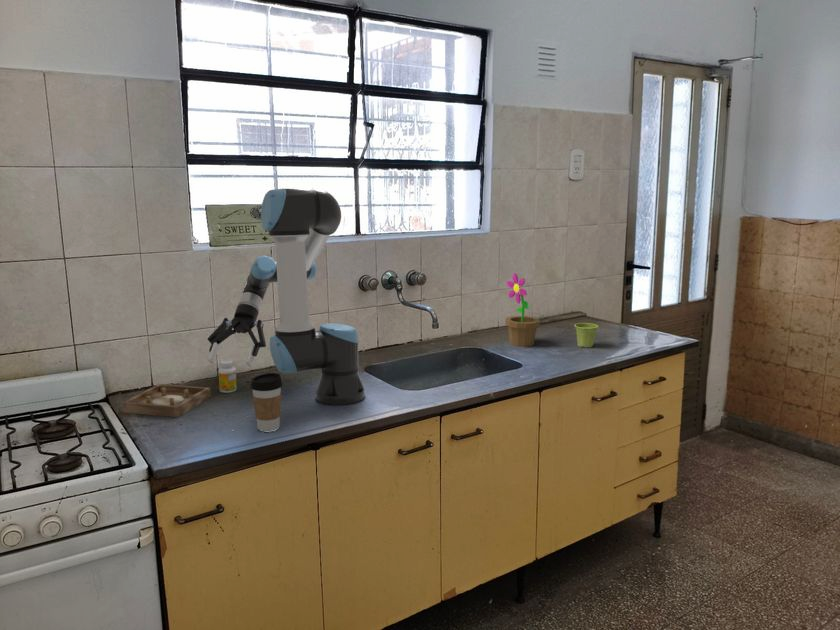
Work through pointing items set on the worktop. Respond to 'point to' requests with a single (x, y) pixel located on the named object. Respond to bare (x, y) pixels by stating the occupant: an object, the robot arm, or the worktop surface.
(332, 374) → the robot arm
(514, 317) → the flowerpot
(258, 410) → the coffee cup
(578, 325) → the plant pot
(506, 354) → the worktop surface
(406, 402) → the worktop surface
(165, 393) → the pin tray
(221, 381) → the supplement bottle
